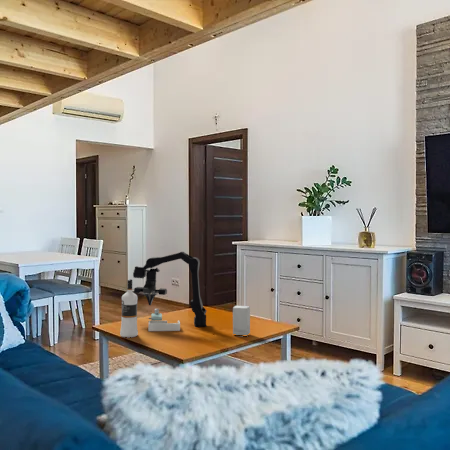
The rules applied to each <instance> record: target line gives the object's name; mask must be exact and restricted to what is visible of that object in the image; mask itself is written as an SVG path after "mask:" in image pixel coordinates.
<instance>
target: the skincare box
mask: <svg viewBox="0 0 450 450" xmlns="http://www.w3.org/2000/svg"><path fill="white" fill-rule="evenodd" d="M249 333H250V334H251V306H249V305H234V306H233V307H232V335H233V334H236V335H248V334H249Z"/></svg>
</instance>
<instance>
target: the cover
mask: <svg viewBox="0 0 450 450" xmlns="http://www.w3.org/2000/svg"><path fill="white" fill-rule="evenodd" d="M159 310H160V309H159V308H154V313H151V315H150V316H151V317H149V318H148V320H150V321H163V314H162V313H159V312H160V311H159Z"/></svg>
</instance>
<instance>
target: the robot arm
mask: <svg viewBox="0 0 450 450" xmlns="http://www.w3.org/2000/svg"><path fill="white" fill-rule="evenodd" d="M177 260H182V261H183V262H184V263H186V264H187V265H188V267H189V268H188V269H189V270H190V274H191V285H192V286H191V287H192V299H191V300H190V309H191V311H192V313H194V317H193V324H194V326H195V327H197V328H198V327H200V328H201V327H204V328H205V327H207V314H206V313H207V309H206V308H205V307H204V305H203V301H202V298H201V290H200V278H199V277H200V276H199V272H200V265H201V261H200V259H199V257H194V256H192V255H189V254H188V253H186V252H185V251H180V252H177V253H172V254H169V255H165V256H156V257H155V256H153V257H152V256H151V257H149V258H148V259H146V261H145V265H143V266H134V269H133V272H132V273H133V274H132V276H133V278H134V279H144V278H146V279H145V284H144V285H143V286H136V287H134V289H133V293H135V294H139V293H143V296H145V297H146V300H147V303H148V306H151V305H152V303H153V300H154V299H155V297H156V295H161V296H163V295H167V294H168V290H167V288H162V287H161V288H159V289H157V287H156V285H157V273H159V272H160V271H161V270H160V269H159V268H158V267H157V266H159V265H162V264H165V263H168V262H172V261H173V262H174V261H177ZM155 267H156V268H155Z"/></svg>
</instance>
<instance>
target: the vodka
mask: <svg viewBox="0 0 450 450" xmlns="http://www.w3.org/2000/svg"><path fill="white" fill-rule="evenodd" d="M126 285H127V286H126V287H127V290H126V292H125V293H124V294H122V296H121V317H120V319H121V323H120V324H121V325H120V331H119V333H120V334H119V335H120V336H121V337H122V338H125V337H127V338H129V339H130V337H131V338H135V337H138V334H139V330H138V299H139V298H138V297H139V296H138V295H137V293H134V291H133V279H127V284H126Z"/></svg>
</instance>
